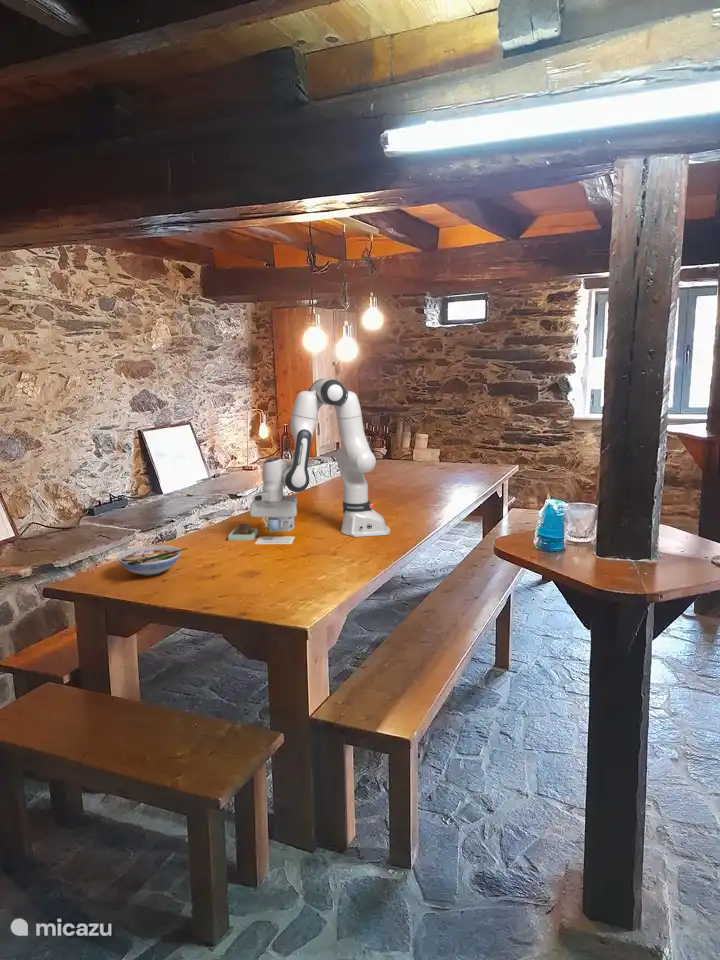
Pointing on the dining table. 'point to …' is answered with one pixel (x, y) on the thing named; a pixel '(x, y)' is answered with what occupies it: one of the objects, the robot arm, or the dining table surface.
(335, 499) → the dining table surface
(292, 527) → the light bulb box
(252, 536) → the tray
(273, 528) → the blue cylinder
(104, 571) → the dining table surface
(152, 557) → the ramen bowl
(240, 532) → the walnut block
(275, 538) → the letter
